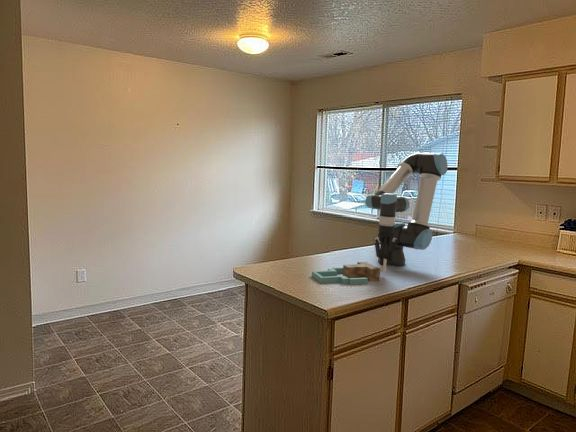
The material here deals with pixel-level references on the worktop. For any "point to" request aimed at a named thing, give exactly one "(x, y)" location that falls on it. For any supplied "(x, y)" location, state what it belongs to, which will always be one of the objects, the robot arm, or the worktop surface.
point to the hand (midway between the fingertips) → (383, 271)
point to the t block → (362, 271)
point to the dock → (336, 277)
